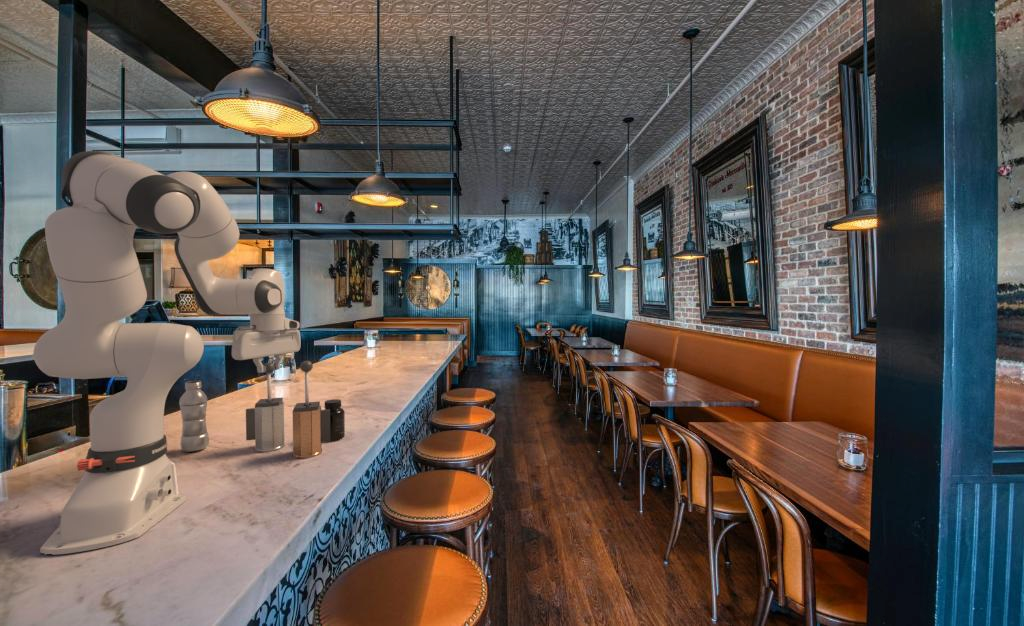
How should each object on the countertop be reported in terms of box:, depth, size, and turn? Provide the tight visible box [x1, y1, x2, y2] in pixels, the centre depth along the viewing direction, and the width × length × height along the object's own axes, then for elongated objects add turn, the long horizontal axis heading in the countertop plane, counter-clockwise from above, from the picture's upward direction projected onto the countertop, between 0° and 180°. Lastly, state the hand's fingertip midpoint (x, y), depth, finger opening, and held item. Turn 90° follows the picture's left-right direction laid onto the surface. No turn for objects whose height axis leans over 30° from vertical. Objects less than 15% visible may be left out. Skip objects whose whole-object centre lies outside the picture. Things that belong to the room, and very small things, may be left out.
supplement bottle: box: [323, 398, 346, 443], centre depth 127 cm, size 7×7×12 cm
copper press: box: [292, 401, 330, 460], centre depth 115 cm, size 10×7×14 cm
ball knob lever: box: [299, 360, 314, 406], centre depth 114 cm, size 3×3×15 cm
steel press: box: [245, 397, 286, 453], centre depth 119 cm, size 10×7×14 cm
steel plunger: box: [263, 362, 276, 401], centre depth 119 cm, size 3×3×15 cm
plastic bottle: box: [178, 380, 210, 453], centre depth 117 cm, size 6×7×20 cm
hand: (268, 371), depth 119 cm, fingers closed on steel plunger, 3 cm apart
